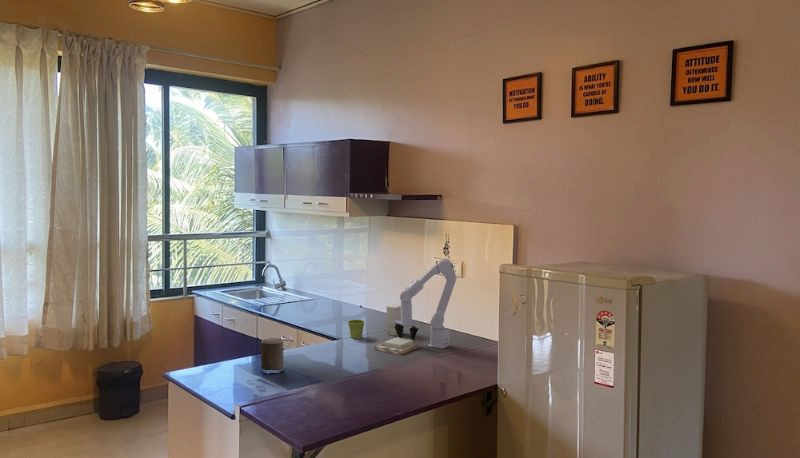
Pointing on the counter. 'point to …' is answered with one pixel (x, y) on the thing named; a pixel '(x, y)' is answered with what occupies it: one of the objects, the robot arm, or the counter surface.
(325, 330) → the counter surface
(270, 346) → the pillar candle
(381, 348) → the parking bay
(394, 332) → the skincare box
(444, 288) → the robot arm
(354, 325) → the plant pot
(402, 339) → the cream tile slab
